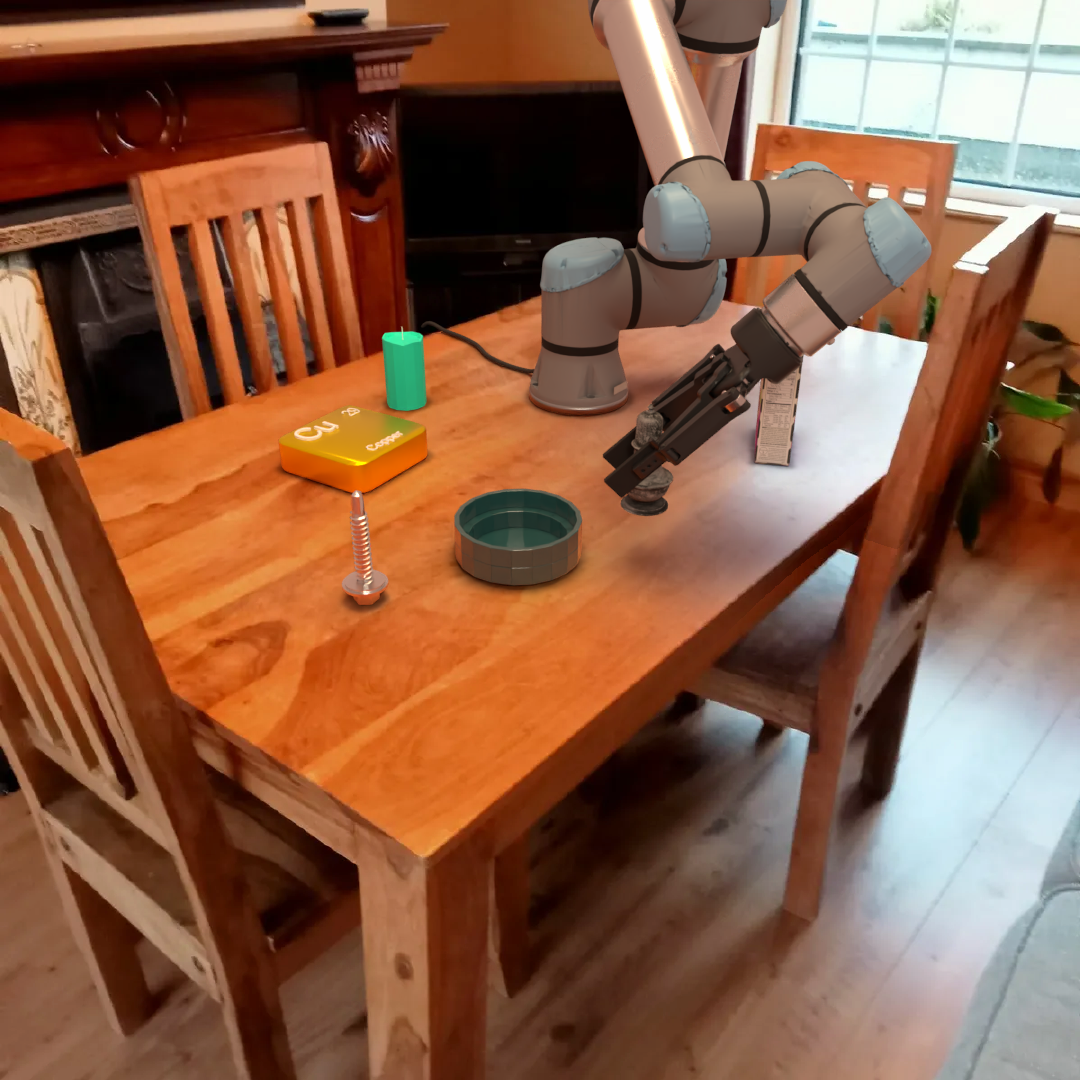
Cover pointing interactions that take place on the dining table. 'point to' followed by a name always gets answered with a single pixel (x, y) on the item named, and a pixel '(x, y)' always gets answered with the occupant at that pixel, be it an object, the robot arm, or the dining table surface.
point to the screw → (362, 558)
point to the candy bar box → (776, 419)
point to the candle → (404, 370)
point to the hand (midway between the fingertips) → (612, 475)
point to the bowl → (518, 536)
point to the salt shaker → (654, 487)
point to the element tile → (353, 448)
